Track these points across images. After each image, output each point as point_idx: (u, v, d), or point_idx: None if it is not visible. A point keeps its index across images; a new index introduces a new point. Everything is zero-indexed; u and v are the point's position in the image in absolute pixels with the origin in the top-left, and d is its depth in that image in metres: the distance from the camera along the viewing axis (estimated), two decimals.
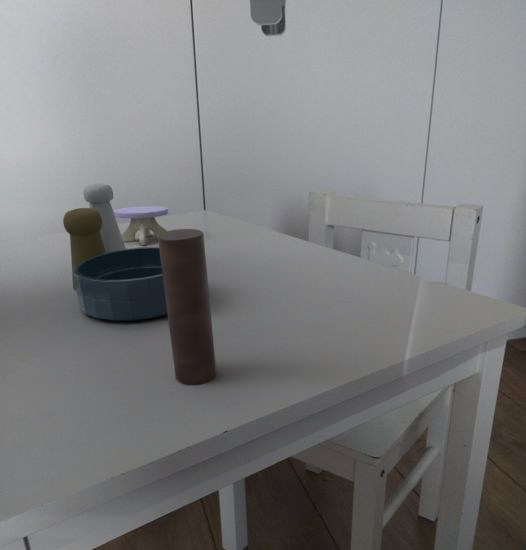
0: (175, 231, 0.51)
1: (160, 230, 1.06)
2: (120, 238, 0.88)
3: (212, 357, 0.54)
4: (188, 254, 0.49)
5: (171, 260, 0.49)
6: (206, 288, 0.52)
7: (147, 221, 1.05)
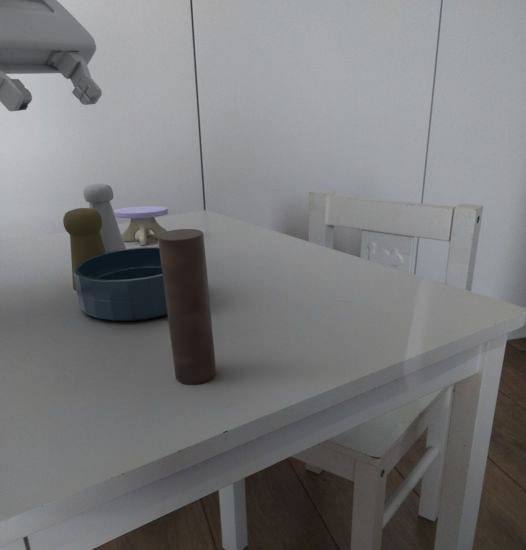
0: (175, 231, 0.51)
1: (160, 230, 1.06)
2: (120, 238, 0.88)
3: (212, 357, 0.54)
4: (188, 254, 0.49)
5: (171, 260, 0.49)
6: (206, 288, 0.52)
7: (147, 221, 1.05)
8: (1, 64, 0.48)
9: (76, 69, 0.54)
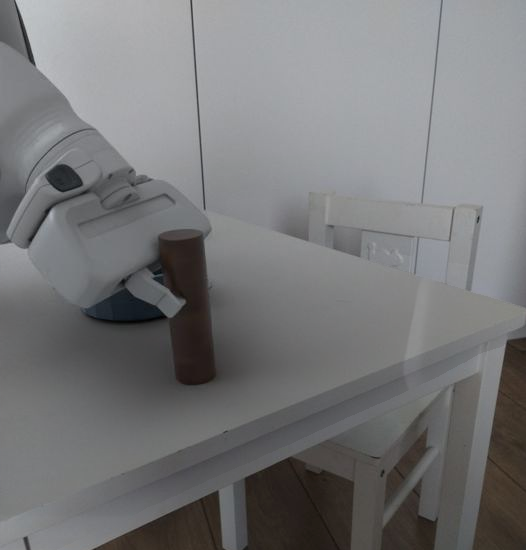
0: (175, 231, 0.51)
1: None
2: None
3: (212, 357, 0.54)
4: (188, 254, 0.49)
5: (171, 260, 0.49)
6: (206, 288, 0.52)
7: None
8: None
9: None
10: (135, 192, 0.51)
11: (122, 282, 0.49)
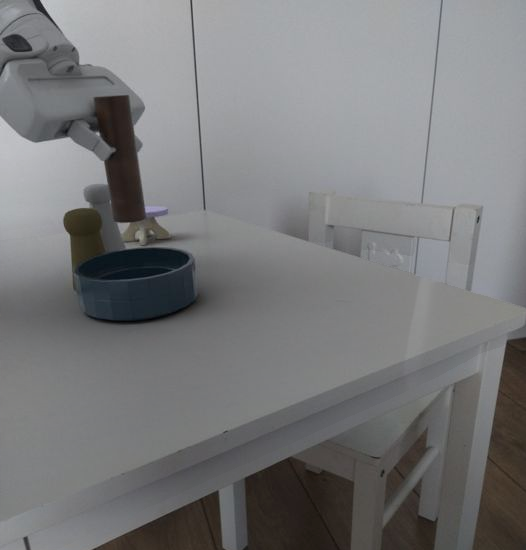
0: None
1: (160, 230, 1.06)
2: (120, 238, 0.88)
3: (141, 201, 0.69)
4: (116, 109, 0.64)
5: (103, 114, 0.64)
6: (133, 141, 0.66)
7: (147, 221, 1.05)
8: None
9: None
10: (77, 66, 0.66)
11: (65, 132, 0.64)
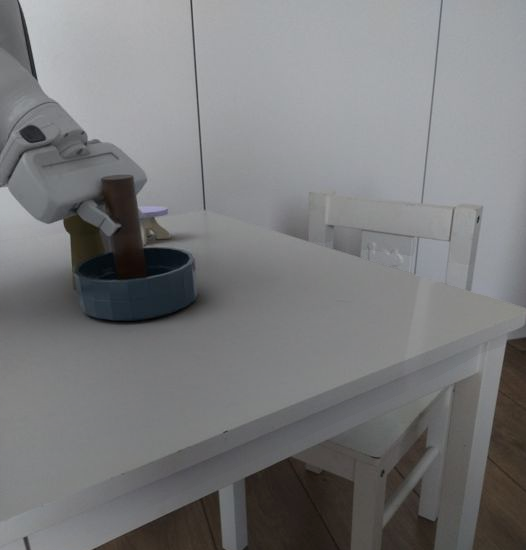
0: (114, 175, 0.72)
1: (160, 230, 1.06)
2: None
3: (143, 269, 0.75)
4: (122, 190, 0.70)
5: (110, 194, 0.70)
6: (137, 217, 0.72)
7: (147, 221, 1.05)
8: None
9: None
10: (85, 148, 0.72)
11: (75, 210, 0.70)
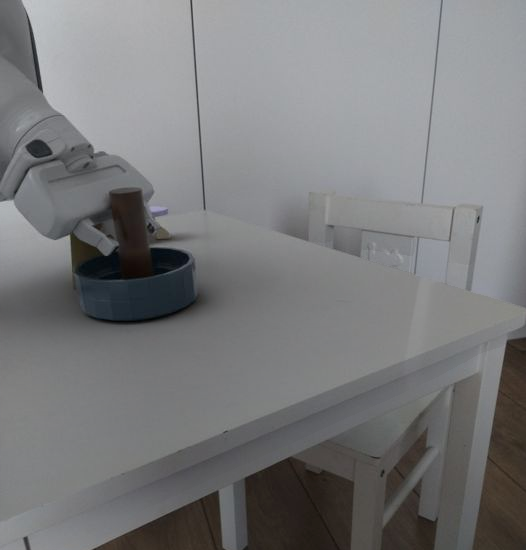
0: (122, 188, 0.71)
1: (160, 230, 1.06)
2: None
3: None
4: (130, 203, 0.69)
5: (118, 208, 0.69)
6: (145, 230, 0.71)
7: None
8: (95, 218, 0.71)
9: None
10: (92, 161, 0.71)
11: None
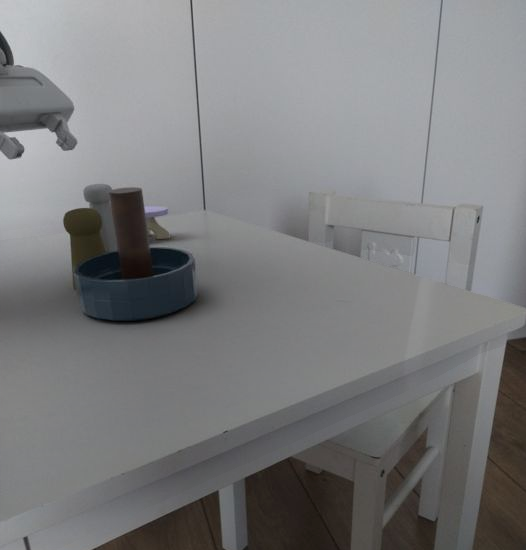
0: (122, 188, 0.71)
1: (160, 230, 1.06)
2: None
3: None
4: (130, 203, 0.69)
5: (118, 208, 0.69)
6: (145, 230, 0.71)
7: (147, 221, 1.05)
8: (3, 126, 0.68)
9: (59, 125, 0.74)
10: (1, 66, 0.68)
11: None
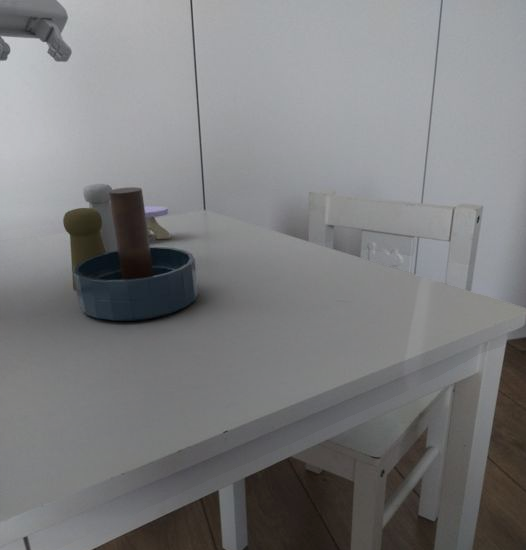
0: (122, 188, 0.71)
1: (160, 230, 1.06)
2: None
3: None
4: (130, 203, 0.69)
5: (118, 208, 0.69)
6: (145, 230, 0.71)
7: (147, 221, 1.05)
8: None
9: (50, 33, 0.65)
10: None
11: None
